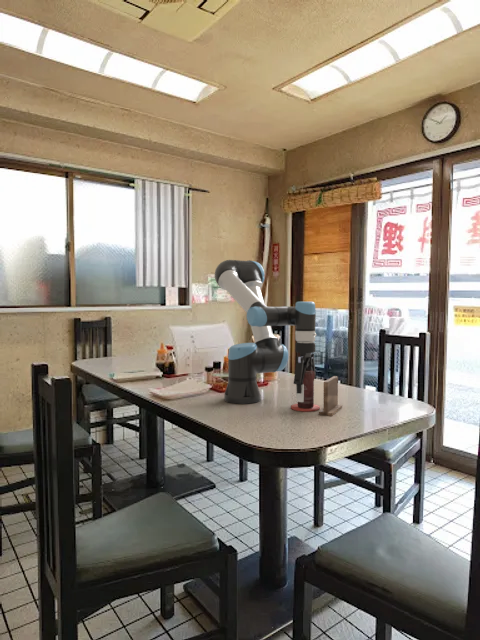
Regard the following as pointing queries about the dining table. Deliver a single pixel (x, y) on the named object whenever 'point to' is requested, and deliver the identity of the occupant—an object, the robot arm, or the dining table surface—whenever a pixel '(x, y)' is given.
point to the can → (308, 390)
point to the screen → (330, 397)
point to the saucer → (315, 408)
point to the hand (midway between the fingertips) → (305, 398)
